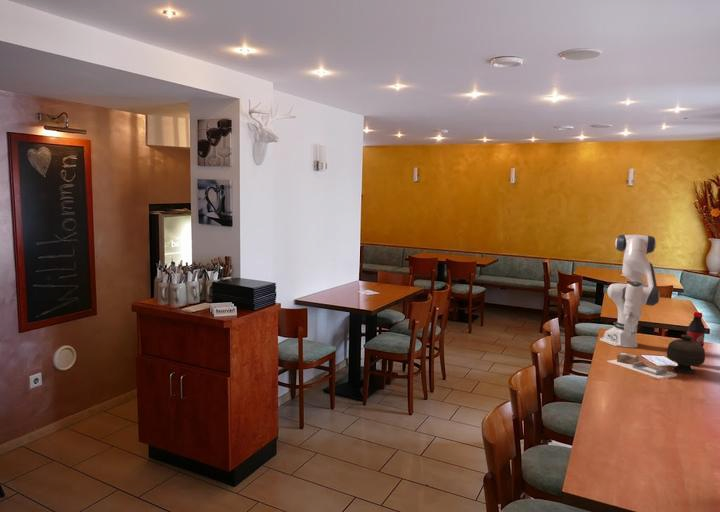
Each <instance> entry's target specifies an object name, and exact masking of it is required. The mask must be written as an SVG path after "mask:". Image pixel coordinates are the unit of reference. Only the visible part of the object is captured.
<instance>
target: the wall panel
mask: <svg viewBox="0 0 720 512" xmlns="http://www.w3.org/2000/svg"><path fill="white" fill-rule="evenodd" d="M607 362H608V363H611V364H614V365H616V366H617V365H618V366H620V367H622V368H625V369H629V370H632V371H635V372H637V373H638V372H639V373H641V374H645V375H647V376H650V377H651V379H653V380H656V381H660V379H661V378H663V379H664V380H666V379H671V378H676V377H677V376H678V374H677V373H675V372H671V371H668V368H666V367H665V368H664V367H663V368H659V367H655V366H652V365H650V364H646V363H645V362H644V361H643V360H640V361H639V362H634V363H633V365H630V364H625V363H620V362H617V358H616V359H611V360H607Z"/></svg>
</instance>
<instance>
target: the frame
mask: <svg viewBox="0 0 720 512" xmlns="http://www.w3.org/2000/svg"><path fill="white" fill-rule="evenodd" d="M616 359H617V362H620V363H625V364H630V365H633V363H634V362H640V361H639V360H640V356H639V355H634V354H629V353H624V352H618V353H617V356H616Z"/></svg>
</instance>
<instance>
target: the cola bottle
mask: <svg viewBox="0 0 720 512" xmlns="http://www.w3.org/2000/svg"><path fill="white" fill-rule="evenodd" d="M702 318H703V313H702V312H698V311H694V312H693V318H692V319H693V320H692V321H691V322H690V323H689V325H688V326H687V334H686V335H690V336H693V338H692V339H691V340H692V341H695V342H697V343H699V344H700V345H701V346H702V347H703V348H704V345H705V334H706V327H705V325H704V322H703V319H702ZM698 366H700V365H696V366H695V367H698Z"/></svg>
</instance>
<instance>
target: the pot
mask: <svg viewBox="0 0 720 512" xmlns="http://www.w3.org/2000/svg"><path fill="white" fill-rule="evenodd" d="M680 335H681V336H680V338H678V339H674V340H672V341H670V342H669V343H668V345H667V348H666V357H667V358H668V359H669V360H671V361H672V362H675V363H676V364H677V365H675V366H674V367H672V370H673V371H675V372H677V373H681V374H685V375H686V374H687V375H692V374H695V373H696V371H695V369H693V368H692V367H697V366H696V365H699V366H701V365H704V363H705V360H706V352H705V351H706V350H705V348H704V346H703V347H702V346H701V345H700V344H699V343H697V342H695V341H692V340H691V339H692V338H693V336H690V335H687V334H680Z"/></svg>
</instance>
